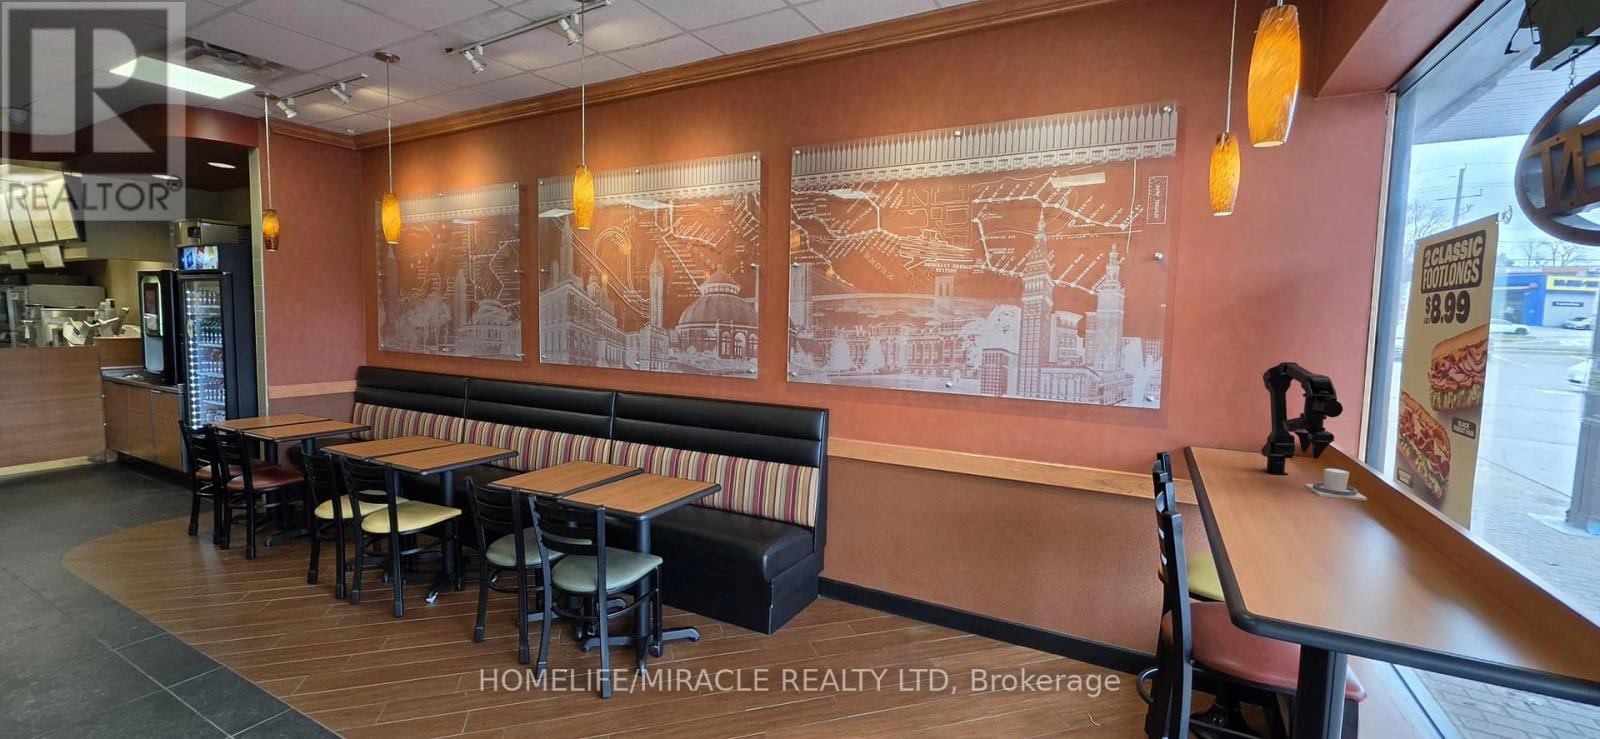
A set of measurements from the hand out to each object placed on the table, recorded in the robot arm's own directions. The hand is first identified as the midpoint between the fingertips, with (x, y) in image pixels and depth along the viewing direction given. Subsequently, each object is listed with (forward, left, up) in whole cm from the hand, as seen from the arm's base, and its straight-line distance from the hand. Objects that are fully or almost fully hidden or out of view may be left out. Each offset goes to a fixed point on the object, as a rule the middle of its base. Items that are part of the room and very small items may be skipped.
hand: (1309, 455), depth 231 cm
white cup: (+4, +7, -11) cm, 13 cm away
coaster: (+4, +7, -12) cm, 14 cm away
